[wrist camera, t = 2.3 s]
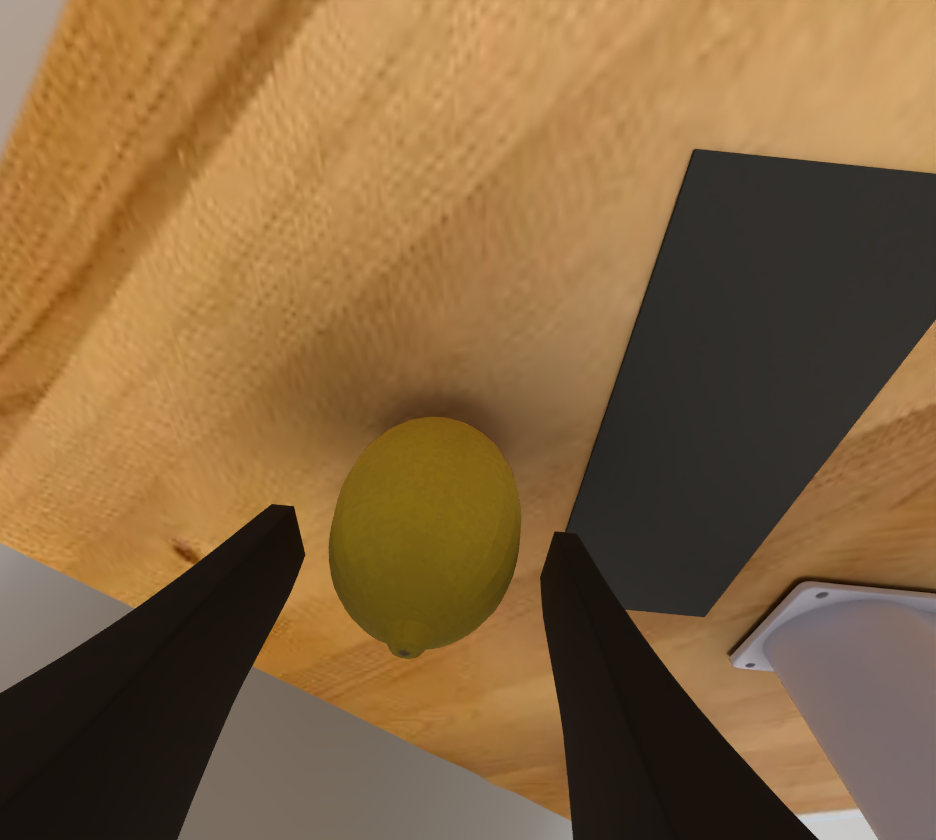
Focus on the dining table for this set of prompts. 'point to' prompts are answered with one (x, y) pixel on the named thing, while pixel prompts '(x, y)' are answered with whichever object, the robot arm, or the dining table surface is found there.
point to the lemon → (425, 534)
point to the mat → (750, 364)
